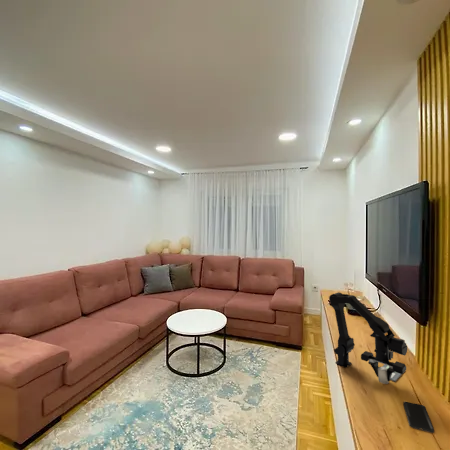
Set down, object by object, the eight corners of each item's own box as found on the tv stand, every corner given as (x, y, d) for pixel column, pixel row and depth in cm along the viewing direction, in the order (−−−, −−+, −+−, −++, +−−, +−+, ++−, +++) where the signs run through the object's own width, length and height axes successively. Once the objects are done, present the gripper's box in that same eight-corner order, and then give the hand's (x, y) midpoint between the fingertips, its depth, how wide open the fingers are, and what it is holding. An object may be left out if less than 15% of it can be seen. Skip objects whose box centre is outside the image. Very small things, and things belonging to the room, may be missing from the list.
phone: (424, 405, 109) (434, 431, 96) (425, 408, 109) (435, 434, 96) (402, 400, 113) (409, 425, 99) (402, 403, 113) (409, 428, 99)
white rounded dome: (387, 385, 125) (386, 372, 125) (377, 381, 128) (376, 369, 128) (390, 381, 128) (389, 369, 128) (380, 377, 131) (379, 365, 131)
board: (395, 381, 127) (395, 380, 127) (375, 374, 134) (375, 372, 134) (404, 370, 136) (404, 369, 136) (385, 364, 143) (385, 362, 143)
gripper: (409, 348, 126) (410, 380, 126) (368, 336, 140) (370, 365, 140) (401, 356, 119) (403, 390, 119) (359, 343, 133) (361, 373, 133)
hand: (383, 378), depth 128 cm, fingers closed on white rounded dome, 4 cm apart
